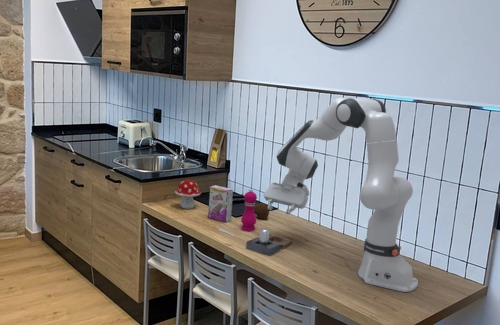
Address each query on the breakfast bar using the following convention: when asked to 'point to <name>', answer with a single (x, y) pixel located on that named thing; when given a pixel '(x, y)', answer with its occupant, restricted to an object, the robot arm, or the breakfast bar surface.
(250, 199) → the pepper mill
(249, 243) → the socket block
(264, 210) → the brown rounded lump
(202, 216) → the breakfast bar surface
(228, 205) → the candy bar box
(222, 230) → the butter knife
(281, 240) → the wooden picture frame
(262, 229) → the steel axle
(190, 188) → the decorative mushroom
